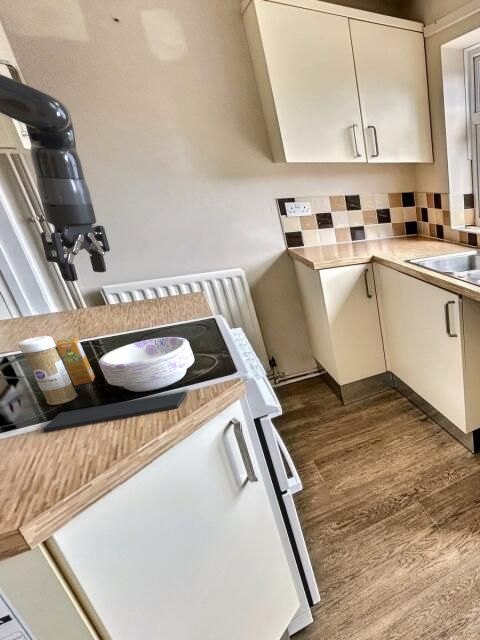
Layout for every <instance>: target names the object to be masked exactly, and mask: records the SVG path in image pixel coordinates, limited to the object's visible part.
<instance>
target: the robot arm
mask: <svg viewBox="0 0 480 640" xmlns="http://www.w3.org/2000/svg"><path fill="white" fill-rule="evenodd" d="M0 114H2V115H4V116H7V117H8V118H10V119H13V120H15V121H17V122H18V123H19V122H20V123H22V124H24V126H25V129H26V133H27V136H28V139H29V142H30V149H29V152H30V159H31V163H32V167H33V170H34V174H35V178H36V188H37V192H38V195H39V199H40V203H41V206H42V209H43V213H44V214H43V215H44V217H45V221H46V222H47V223H48V224H50V225H52V226H53V228H54V230H53V232H52V231H51V232H50V231H42V232H41V233H40V238H41V243H42V247H43V251H44V255H45V259H46V261H47V262H49V263H56V264H57V265H58V267H59V272H60V274H61V278H62V279H63V281H65V282H76V281H78V280H79V278H78V275H77V269H76V267H75V263H73V262H74V261H75V257H76V256H77V255H79V253H80V251H82V250H85V251H86V252H87V254H89V260H90V264H91V267H92V271H93V272H95V273H106V272H107V268H106V267H107V266H106V261H105V257H104V256H105V255H106V253H107V252H110V251H111V248H110V244H109V241H108V237H107V234H106V229H105V226H103V225H98V224H97V225H96V223H97V218H96V213H95V210H94V205H93V200H92V197H91V193H90V189H89V186H88V184H87V181H86V179H85V178H86V177H85V174H84V169H83V165H82V161H81V158H80V156H79V153H78V149H77V143H76V136H75V135H76V134H75V130H74V125H73V119H72V115H71V112H70V110H69V109H68V108H67V106H66V105H65V104H64V103H63V102H62V101H60V100H59V99H58V98H56V97H54V96H53V95H50V94H49V93H46V92H44V91H42V90H39V89H37V88H35V87H33V86H30V85H28V84H25V83H23V82H20V81H18V80H16V79H14V78H11V77H8V76H6V75H3V74H1V73H0ZM100 242H101V243H100ZM101 244H102V245H101ZM53 251H55V255H54V253H53Z"/></svg>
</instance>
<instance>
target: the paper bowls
mask: <svg viewBox="0 0 480 640" xmlns="http://www.w3.org/2000/svg"><path fill="white" fill-rule="evenodd" d="M194 362H195V356H194V353H193V350H192V348H191V345H190V342H189V341H188V339H186V338H184V337H181V336H180V337H179V336H165V337H157V338H156V337H155V338H149V339H145V340H140V341H137V342H133V343H129V344H126V345H123V346H120V347H118V348H115V349H112V350H111V351H109V352H107V353H105V354H103V355H102V356H101V357H100V358H99V360H98V365H99V367H100V369H101V371H102V373H103V376H104V379H105V380H106V382H107V383H108V384H109V385H110V386H111V385H112V386H118V387H123V388H125V389H126V390H128V391H130V392H136V393H137V392H139V393H141V392H142V393H143V392H149V391H155V390H159V389H162V388H166V387H169V386H171V385H173V384H175V383H177V382H179V381H180V380H181V379H183V378H184V377H185V376H186V374H187V369H188V368H190V367H191V366H192V365H193V364H194Z"/></svg>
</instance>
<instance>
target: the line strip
mask: <svg viewBox="0 0 480 640" xmlns="http://www.w3.org/2000/svg"><path fill="white" fill-rule="evenodd" d="M186 396H187V392H186V391H180V392H179V391H177V392H173V393H167V394H162V395H155V396H150V397H144V398H139V399H132V400H125V401H120V402H115V403H108V404H103V405H97V406H91V407H86V408H80V409H74V410H68V411H62V412H59V413H58V414H57V415H56V416H55V417H54V418H53V419H51V421H49V422H48V423H47V424H46V425H45V426H44V427H43V428H42V431H43V432H44V433H49V432H55V431H59V430H66V429H72V428H75V427H76V428H77V427H81V426H88V425H92V424H99V423H104V422H110V421H114V420H120V419H126V418H131V417H137V416H143V415H148V414H153V413H154V414H155V413H159V412H164V411H170V410H175V409H179V407H180V406H181V404H182V402H183V401H184V399H185V398H186Z"/></svg>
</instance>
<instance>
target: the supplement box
mask: <svg viewBox="0 0 480 640" xmlns="http://www.w3.org/2000/svg"><path fill="white" fill-rule="evenodd" d="M55 347H56V350H57V352H58V354H59V356H60V359H61V360H62V363H63V365H64V367H65V369H66V371H67V373H68V376H69V378H70V380H71V383H72V385H74V386H75V387H76V386H81V385H85V384H90V383H93V382H94V380H95V378H96V376H95V373H94V370H93V368H92V367H91V365H90V362H89V360H88V358H87V355H86V353H85V351H84V349H83V346H82V344H81V341H80V339H79V337H77V336H76V337H72V338H71V337H70V338H65V339H59V340H57V341H56V343H55ZM74 386H73V387H74Z"/></svg>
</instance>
